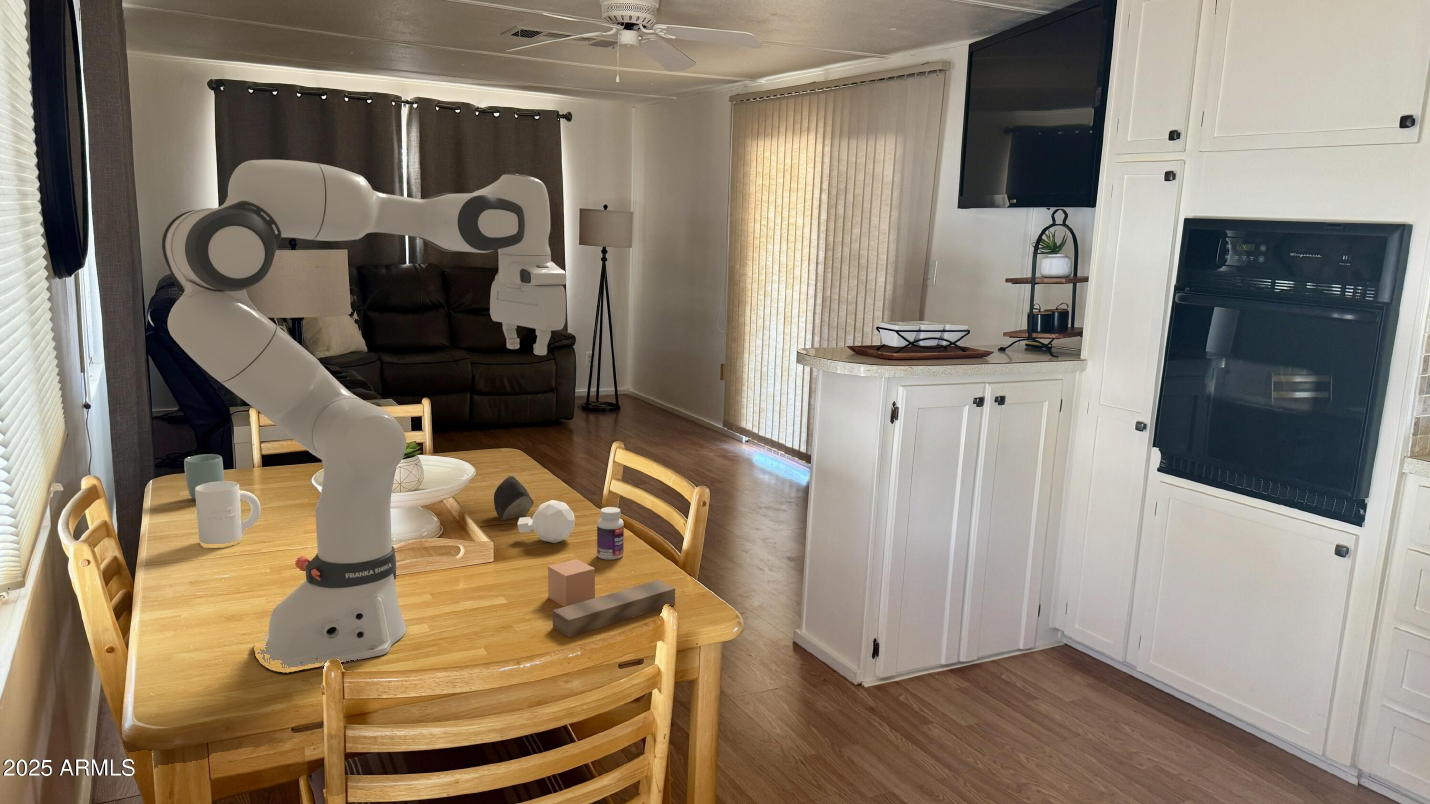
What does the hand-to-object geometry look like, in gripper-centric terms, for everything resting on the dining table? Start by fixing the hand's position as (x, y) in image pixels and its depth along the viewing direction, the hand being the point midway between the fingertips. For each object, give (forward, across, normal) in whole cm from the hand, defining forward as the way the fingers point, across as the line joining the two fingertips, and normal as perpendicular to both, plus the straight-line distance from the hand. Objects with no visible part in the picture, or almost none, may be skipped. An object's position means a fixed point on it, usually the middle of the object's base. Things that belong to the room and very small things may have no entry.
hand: (526, 351), depth 163 cm
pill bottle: (+44, -6, +22) cm, 50 cm away
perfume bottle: (+44, -22, +17) cm, 52 cm away
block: (+44, +8, +4) cm, 45 cm away
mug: (+44, -61, -35) cm, 83 cm away
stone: (+44, -40, +19) cm, 62 cm away
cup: (+44, -96, -32) cm, 110 cm away
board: (+44, +19, +6) cm, 48 cm away
